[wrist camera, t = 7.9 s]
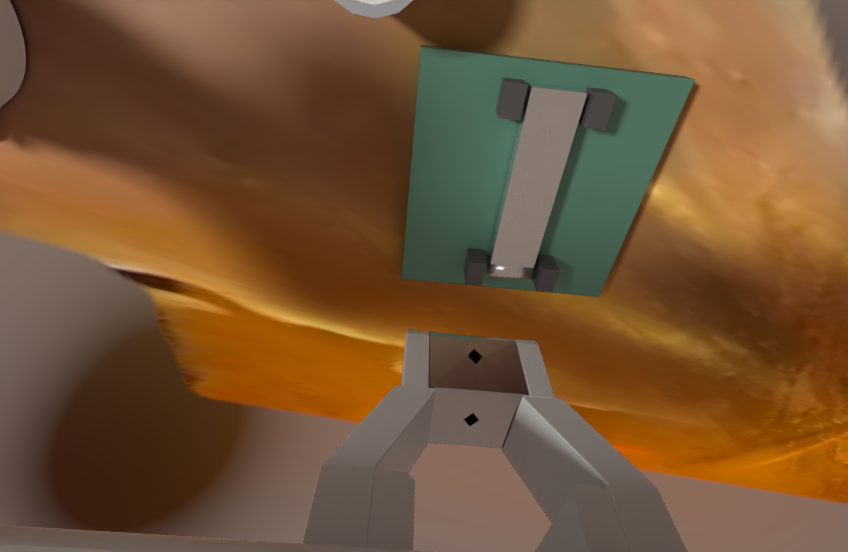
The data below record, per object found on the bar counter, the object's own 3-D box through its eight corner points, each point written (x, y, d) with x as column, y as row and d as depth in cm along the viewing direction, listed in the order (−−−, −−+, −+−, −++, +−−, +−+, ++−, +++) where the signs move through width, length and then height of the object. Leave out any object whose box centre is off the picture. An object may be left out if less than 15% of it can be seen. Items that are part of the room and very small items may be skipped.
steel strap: (485, 269, 38) (487, 279, 37) (527, 83, 29) (532, 87, 28) (526, 273, 39) (530, 283, 37) (580, 89, 29) (588, 94, 28)
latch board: (402, 270, 41) (399, 293, 37) (421, 45, 29) (420, 50, 26) (593, 288, 41) (607, 312, 38) (684, 76, 30) (715, 85, 27)
